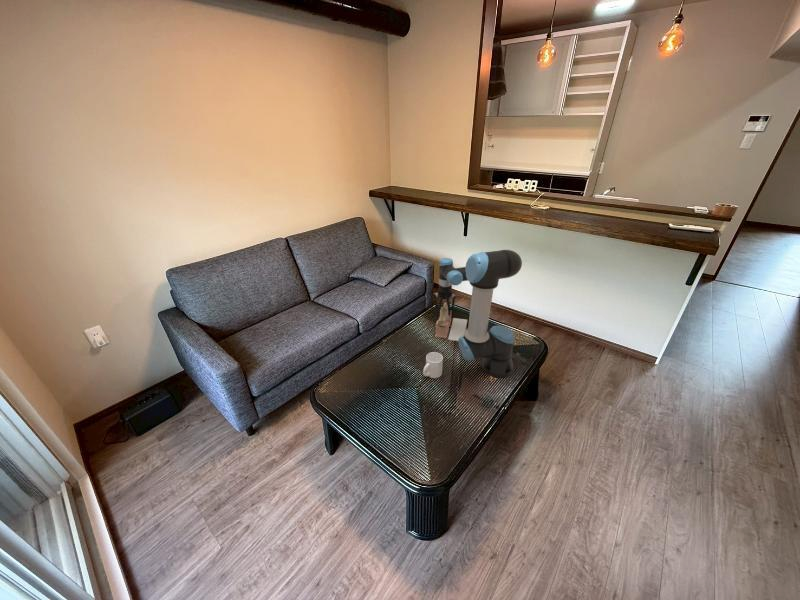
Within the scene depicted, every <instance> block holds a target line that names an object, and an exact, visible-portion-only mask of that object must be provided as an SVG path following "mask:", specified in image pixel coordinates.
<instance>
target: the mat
mask: <svg viewBox="0 0 800 600" xmlns="http://www.w3.org/2000/svg"><path fill="white" fill-rule="evenodd" d="M467 324H468V319H466V318H465V319H464V318H457V317H453V318H452V321H451V325H450V328H449V332H448V336H447V340H448V341H451V342H452V341H454V342H458V340H459V338H460V337H464V332H465V330H466V329H467Z"/></svg>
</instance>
